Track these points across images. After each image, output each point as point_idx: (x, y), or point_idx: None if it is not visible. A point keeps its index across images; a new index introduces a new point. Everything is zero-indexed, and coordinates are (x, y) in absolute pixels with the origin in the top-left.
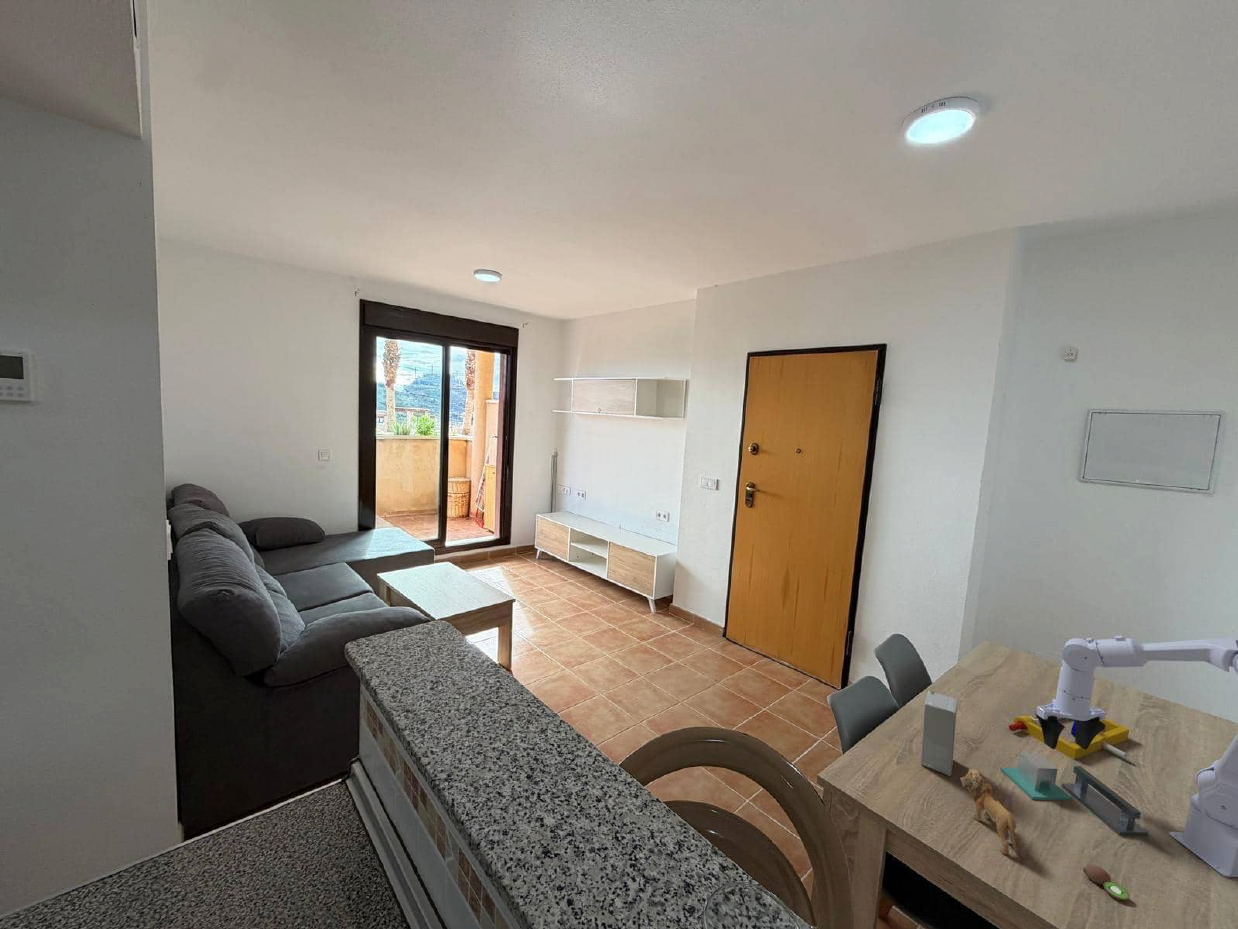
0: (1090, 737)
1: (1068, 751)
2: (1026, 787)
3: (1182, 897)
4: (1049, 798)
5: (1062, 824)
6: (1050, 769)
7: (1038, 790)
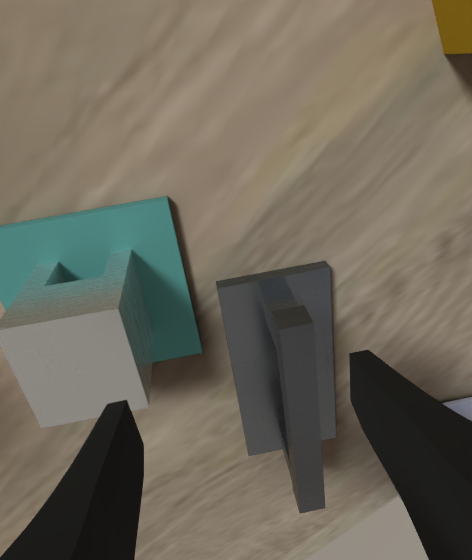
0: (409, 510)
1: (456, 22)
2: None
3: (244, 554)
4: None
5: None
6: None
7: None
